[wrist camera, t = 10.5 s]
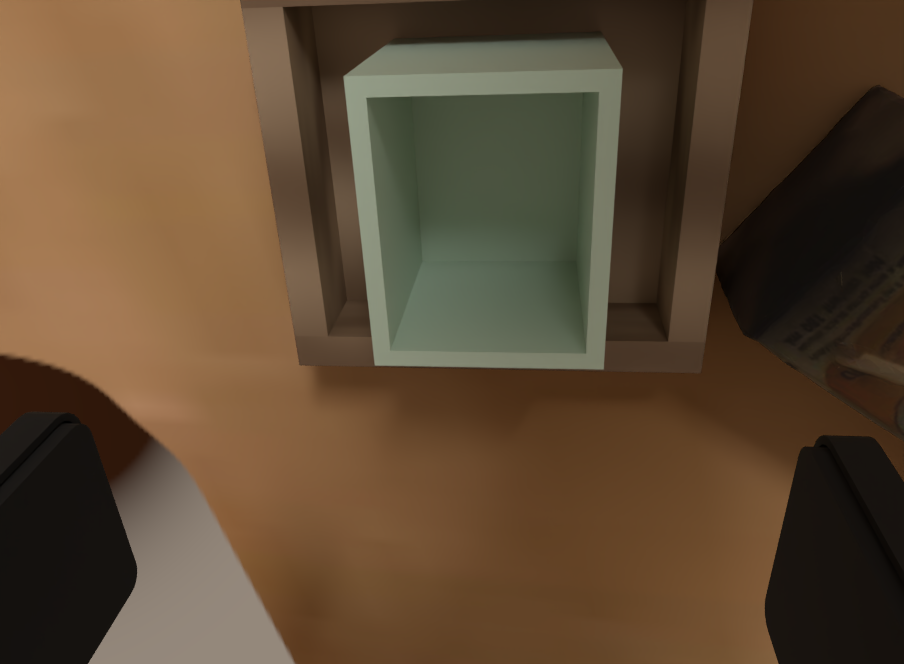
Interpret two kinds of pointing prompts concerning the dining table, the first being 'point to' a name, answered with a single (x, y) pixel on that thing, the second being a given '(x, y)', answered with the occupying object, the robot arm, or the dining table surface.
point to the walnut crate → (637, 173)
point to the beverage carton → (832, 263)
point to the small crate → (487, 197)
